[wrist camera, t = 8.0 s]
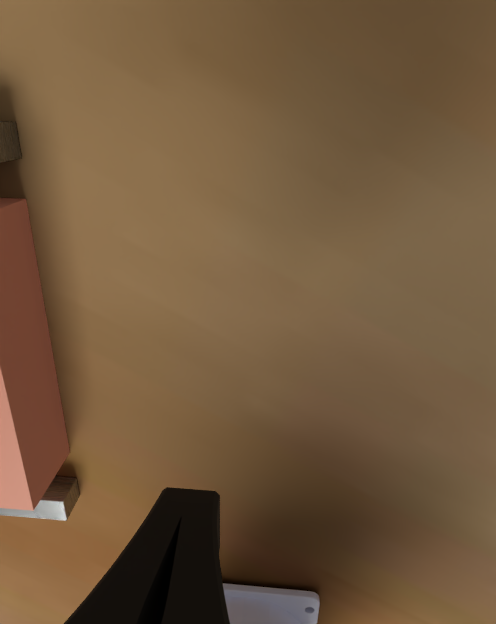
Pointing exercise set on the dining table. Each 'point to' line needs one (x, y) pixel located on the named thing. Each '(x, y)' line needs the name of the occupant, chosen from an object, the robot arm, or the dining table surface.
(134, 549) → the robot arm
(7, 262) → the t block
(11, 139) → the bay
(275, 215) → the dining table surface
